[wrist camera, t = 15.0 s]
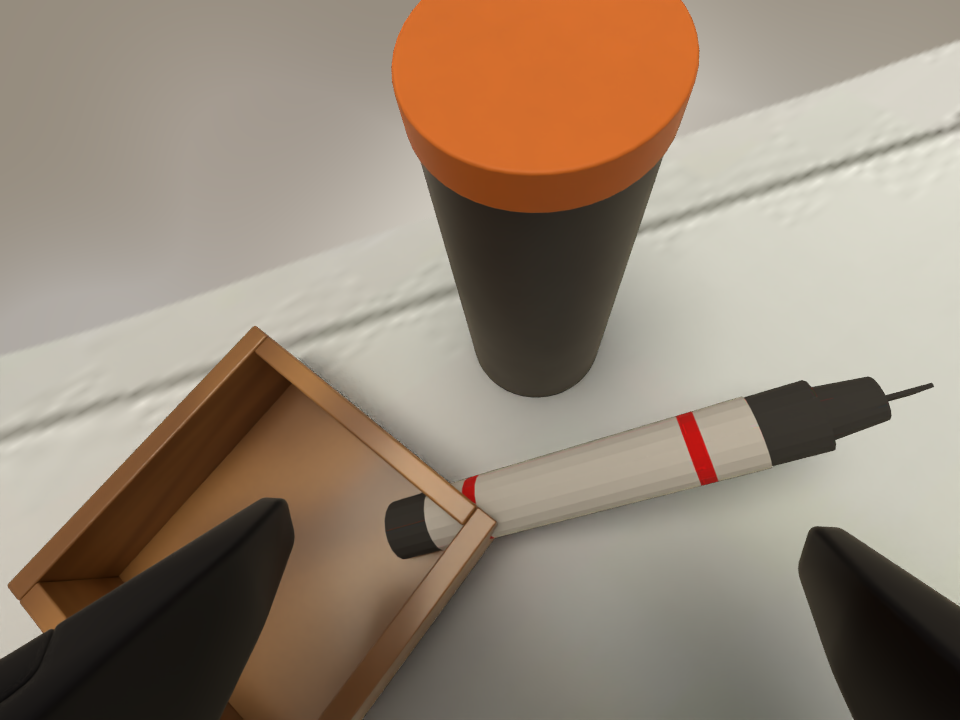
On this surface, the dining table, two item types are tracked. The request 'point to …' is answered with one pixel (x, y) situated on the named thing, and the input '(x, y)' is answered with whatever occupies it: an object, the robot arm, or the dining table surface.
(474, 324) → the tube
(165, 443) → the box
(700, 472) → the marker
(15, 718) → the robot arm
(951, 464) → the dining table surface
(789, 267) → the dining table surface
